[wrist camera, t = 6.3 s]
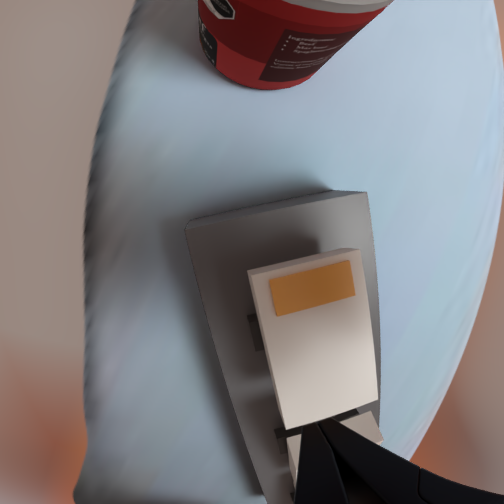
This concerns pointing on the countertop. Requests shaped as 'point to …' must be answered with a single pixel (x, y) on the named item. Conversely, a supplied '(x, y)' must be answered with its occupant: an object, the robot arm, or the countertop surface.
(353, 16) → the canned food
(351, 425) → the block
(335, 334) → the rocker
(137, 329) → the countertop surface
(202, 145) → the countertop surface
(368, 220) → the rocker switch panel
